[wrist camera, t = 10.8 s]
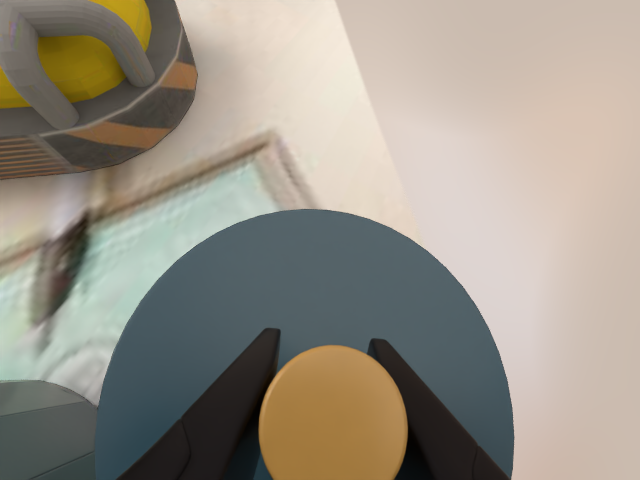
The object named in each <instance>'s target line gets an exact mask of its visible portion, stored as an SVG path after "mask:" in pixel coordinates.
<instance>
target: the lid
mask: <svg viewBox="0 0 640 480" xmlns="http://www.w3.org/2000/svg"><path fill="white" fill-rule="evenodd" d="M265 328H277V329H280V330H281V338H280V350H279V359H278V366H277V373H276V376H275V377H274V379H273V380H272V382H271V384H270V385H269V387H268V389H267V392H266V394H265V396H264V399H263V403H262V406H261V411H260V416H259V429H258V430H259V443H260V449H261V453H260V456H259V460H258V464H257V467H256V471H255V475H254V479H253V480H394V479H395V477H396V475H397V474H398V472H399V469H400V467H401V465H402V462H403V459H404V455H405V452H406V446H407V440H408V423H407V414H406V409H405V405H404V402H403V399H402V396H401V394H400V391H399V389H398V387H397V385H396V384H395V382H394V380H393V378H392V377H391V376H390V375H389V373H388V372H387V371H386V370H385V368H384V367H383V366H382V365H381V364H380V363H378V362H377V361H376V360H375V359H373V358H372V357H370V356H369V355H367V351H368V347H369V342H370V340H371V339H372V338H377V339H385V340H387V341H388V342H389V343H390V344H391V345H392V347H393V348H394V349H395V350H396V351H397V352H398V353H399V354H400V356H401V357H402V358H403V359H404V360H405V361H406V362H407V363H408V365H409V366H410V367H411V368H412V369H413V370H414V371H415V373H416V374H417V375H418V376H419V377H420V378H421V379H422V380H423V382H424V383H425V384H426V385H427V386H428V387H429V388H430V389H431V391H432V392H433V393H434V394H435V395H436V396H437V397H438V398H439V400H440V401H441V402H442V403H443V404H444V405H445V406H446V408H447V409H448V410H449V411H450V412H451V413H452V414H453V415H454V417H455V418H456V419H457V420H458V421H459V422H460V423H461V424H462V426H463V427H464V428H465V429H466V430H467V431H468V432H469V434H470V435H471V436H472V437H473V438H474V439H475V440H476V441H477V443H478V446H481V447H482V448H483V449H484V450H485V451H486V453H487V454H488V455H489V456H490V457H491V458H492V459H493V460H494V462H495V463H496V464H497V465H498V466H499V467H500V468H501V469H502V470H503V471H504V472H505V473H506V475H507V476H508V477H509V478H510V479H511V476H512V470H513V454H514V426H513V412H512V404H511V398H510V393H509V387H508V381H507V377H506V374H505V371H504V367H503V364H502V361H501V357H500V354H499V351H498V349H497V346H496V344H495V342H494V339H493V337H492V335H491V332H490V330H489V328H488V326H487V324H486V323H485V321H484V319H483V317H482V315H481V313H480V311H479V310H478V308H477V306H476V305H475V303H474V302H473V300H472V299H471V298H470V296H469V295H468V294H467V292H466V291H465V289H464V288H463V286H462V285H461V284H460V283H459V282H458V281H457V279H456V278H455V277H454V276H453V275H452V274H451V273H450V272H449V270H448V269H447V268H446V267H445V266H443V264H441V263H440V262H439V261H438V260H437V259H436V258H435V257H434V256H433V255H431V254H430V253H429V252H428V251H427V250H425V249H424V248H422V247H421V246H420V245H418V244H417V243H415V242H414V241H413V240H411V239H410V238H408V237H406V236H404V235H403V234H401V233H399V232H397V231H395V230H393V229H392V228H390V227H387V226H385V225H382V224H380V223H378V222H375V221H373V220H370V219H367V218H364V217H360V216H356V215H353V214H349V213H344V212H337V211H331V210H317V209H299V210H287V211H279V212H274V213H270V214H265V215H260V216H257V217H254V218H251V219H248V220H245V221H242V222H239V223H237V224H234V225H232V226H230V227H228V228H226V229H224V230H221V231H219V232H217V233H216V234H214V235H212V236H211V237H209V238H207V239H206V240H204V241H203V242H201V243H199V244H198V245H196V246H195V247H194V248H192V249H191V250H190V251H189V252H187V253H186V254H185V255H183V256H182V257H181V258H180V259H178V260H177V261H176V262H175V263H174V264H173V265H172V266H171V267H170V268H169V269H168V270H167V271H166V272H165V273H164V274H163V275H162V276H161V277H160V278H159V279H158V280H157V281H156V283H155V284H154V285H153V286H152V288H151V289H150V290H149V291H148V293H147V294H146V295H145V296H144V298H143V299H142V300H141V302H140V303H139V305H138V307H137V308H136V310H135V311H134V313H133V315H132V316H131V318H130V319H129V321H128V323H127V324H126V326H125V328H124V330H123V333H122V335H121V337H120V339H119V341H118V343H117V345H116V347H115V349H114V352H113V355H112V358H111V361H110V363H109V366H108V369H107V372H106V375H105V378H104V382H103V387H102V391H101V396H100V401H99V405H98V410H97V421H96V431H95V474H96V480H115V479H116V478H118V477H119V476H120V475H121V474H122V473H123V472H124V471H125V470H127V469H128V468H129V467H130V466H131V465H132V464H133V463H134V462H135V461H137V460H138V459H139V458H140V457H141V456H142V455H143V454H144V453H145V452H146V451H147V450H148V449H149V448H150V447H151V446H152V445H153V444H154V443H155V442H156V441H157V440H158V439H159V438H160V437H161V436H162V435H163V434H164V433H165V432H166V431H167V430H168V429H169V428H170V427H171V426H172V425H173V424H174V423H175V422H176V421H177V420H178V419H181V416H182V415H183V414H184V413H185V412H186V411H187V410H188V408H189V407H190V406H191V405H192V404H193V403H194V402H195V401H196V400H197V399H198V398H199V397H200V396H201V395H202V394H203V393H204V392H205V391H206V390H207V389H208V387H209V386H210V385H211V384H212V383H213V382H214V381H215V380H216V379H217V378H218V377H219V376H220V375H221V374H222V373H223V372H224V371H225V370H226V369H227V368H228V367H229V365H230V364H231V363H232V362H233V361H234V360H235V359H236V358H237V357H238V356H239V355H240V354H241V353H242V352H243V351H244V350H245V349H246V348H247V347H248V346H249V344H250V343H251V342H252V341H253V340H254V339H255V338H256V337H257V336H258V335H259V334H260V333H261V332H262V331H263V330H264V329H265ZM478 446H477V447H478Z"/></svg>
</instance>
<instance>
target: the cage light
mask: <svg viewBox="0 0 640 480" xmlns="http://www.w3.org/2000/svg"><path fill="white" fill-rule="evenodd" d="M197 76H198V74H197V70H196V66H195V63H194V59H193V55H192V51H191V48H190V45H189V42H188V39H187V36H186V33H185V30H184V27H183V24H182V21H181V18H180V15H179V12H178V9H177V6H176V3H175V1H174V0H0V179H9V178H20V177H31V176H42V175H53V174H64V173H76V172H83V171H87V170H92V169H97V168H101V167H106V166H111V165H115V164H119V163H121V162H123V161H125V160H128V159H130V158H132V157H134V156H136V155H138V154H140V153H142V152H144V151H146V150H148V149H150V148H152V147H154V146H155V145H156V144H157V143H158V142H159V141H160V140H162V139H163V138H164V137H165V136H166V135H167V134H168V133H170V132H171V131H172V130H173V129H174V128H175V127H177V126H178V125H179V123H180V121H181V120H182V118H183V116H184V115H185V113H186V111H187V110H188V108H189V106H190V105H191V103H192V101H193V99H194V93H195V88H196V82H197Z"/></svg>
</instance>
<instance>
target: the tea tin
mask: <svg viewBox="0 0 640 480" xmlns="http://www.w3.org/2000/svg"><path fill="white" fill-rule="evenodd" d="M97 410H98V409H97V408H96V407H95V406H93V405H92V404H91V403H90V402H89V401H87V400H86V399H85V398H84V397H82V396H80V395H78V394H77V393H75V392H73V391H72V390H70V389H67V388H64V387H62V386H59V385H57V384H52V383H48V382H45V381H40V380H0V480H96V474H95V431H96V421H97Z"/></svg>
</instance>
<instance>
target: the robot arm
mask: <svg viewBox="0 0 640 480" xmlns="http://www.w3.org/2000/svg"><path fill="white" fill-rule="evenodd" d="M280 338H281V330H280V329H277V328H265V329H264V330H263V331H262V332H261V333H260V334H259V335H258V336H257V337H256V338H255V339H254V340H253V341H252V342H251V343H250V344H249V346H248V347H247V348H246V349H245V350H244V351H243V352H242V353H241V354H240V355H239V356H238V357H237V358H236V359H235V360H234V361H233V362H232V363H231V364H230V365H229V367H228V368H227V369H226V370H225V371H224V372H223V373H222V374H221V375H220V376H219V377H218V378H217V379H216V380H215V381H214V382H213V383H212V384H211V385H210V386H209V387H208V389H207V390H206V391H205V392H204V393H203V394H202V395H201V396H200V397H199V398H198V399H197V400H196V401H195V402H194V403H193V404H192V405H191V406H190V407H189V408H188V410H187V411H186V412H185V413H184V414H183V415H182V416H181V419H178V420H177V421H176V422H175V423H174V424H173V425H172V426H171V427H170V428H169V429H168V430H167V431H166V432H165V433H164V434H163V435H162V436H161V437H160V438H159V439H158V440H157V441H156V442H155V443H154V444H153V445H152V446H151V447H150V448H149V449H148V450H147V451H146V452H145V453H144V454H143V455H142V456H141V457H140V458H139V459H138V460H137V461H135V462H134V463H133V464H132V465H131V466H130V467H129V468H128V469H127V470H125V471H124V472H123V473H122V474H121V475H120V476H119V477H118V478H116V479H115V480H253V479H254V475H255V471H256V467H257V464H258V460H259V456H260V453H261V449H260V443H259V430H258V429H259V416H260V411H261V406H262V403H263V399H264V396H265V394H266V392H267V389H268V387H269V385H270V384H271V382H272V380H273V379H274V377H275V376H276V373H277V366H278V359H279V350H280ZM367 355H369V356H370V357H372V358H373V359H375V360H376V361H377V362H378V363H380V364H381V365H382V366H383V367H384V368H385V370H386V371H387V372H388V373H389V375H390V376H391V377H392V378H393V380H394V382H395V384H396V385H397V387H398V389H399V391H400V394H401V396H402V399H403V402H404V405H405V409H406V414H407V423H408V440H407V446H406V452H405V455H404V459H403V462H402V465H401V467H400V469H399V472H398V474H397V475H396V477H395V479H394V480H511V479H510V478H509V477H508V476H507V475H506V473H505V472H504V471H503V470H502V469H501V468H500V467H499V466H498V465H497V464H496V463H495V462H494V460H493V459H492V458H491V457H490V456H489V455H488V454H487V453H486V451H485V450H484V449H483V448H482V447H481V446H478V443H477V441H476V440H475V439H474V438H473V437H472V436H471V435H470V434H469V432H468V431H467V430H466V429H465V428H464V427H463V426H462V424H461V423H460V422H459V421H458V420H457V419H456V418H455V417H454V415H453V414H452V413H451V412H450V411H449V410H448V409H447V408H446V406H445V405H444V404H443V403H442V402H441V401H440V400H439V398H438V397H437V396H436V395H435V394H434V393H433V392H432V391H431V389H430V388H429V387H428V386H427V385H426V384H425V383H424V382H423V380H422V379H421V378H420V377H419V376H418V375H417V374H416V373H415V371H414V370H413V369H412V368H411V367H410V366H409V365H408V363H407V362H406V361H405V360H404V359H403V358H402V357H401V356H400V354H399V353H398V352H397V351H396V350H395V349H394V348H393V347H392V345H391V344H390V343H389V342H388V341H387V340H385V339H377V338H372V339H371V340H370V342H369V347H368V351H367ZM477 446H478V447H477Z"/></svg>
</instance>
